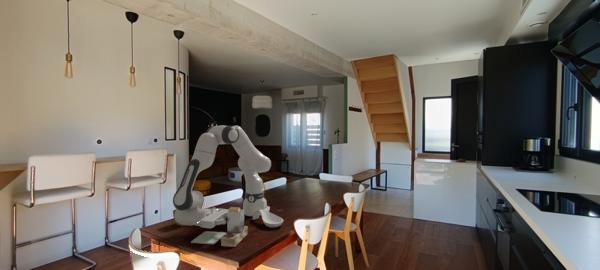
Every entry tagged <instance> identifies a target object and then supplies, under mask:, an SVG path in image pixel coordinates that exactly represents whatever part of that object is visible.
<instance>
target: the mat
mask: <svg viewBox="0 0 600 270" xmlns="http://www.w3.org/2000/svg"><path fill="white" fill-rule="evenodd" d="M226 233H227V232H224V231H210V230H206V231H204V232H202V233H201V234H199V235H198V236H196V238H194V239H193V240H191V241H190V244H204V245H206V244H207V245H214V244H216V243H217V242H218V241H219V240H221V237H223V236H224V235H225V234H226Z"/></svg>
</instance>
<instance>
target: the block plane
mask: <svg viewBox="0 0 600 270" xmlns="http://www.w3.org/2000/svg"><path fill="white" fill-rule="evenodd" d="M248 227H249V226H247V225H244V229H243V230H242V231H241V232H233V231H227V232H226V234H225V235H224V236H223V237H221V238H220V243H221V245H220V246H222V247H231V248H233V247H236V246H237V245H238V244H240V242H241V241H242V240H243V239H244V238H245V237H246V236H248V234H249V233H248V231H249V230H248V229H249V228H248Z"/></svg>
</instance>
